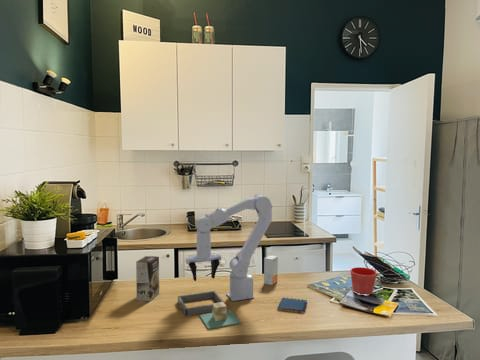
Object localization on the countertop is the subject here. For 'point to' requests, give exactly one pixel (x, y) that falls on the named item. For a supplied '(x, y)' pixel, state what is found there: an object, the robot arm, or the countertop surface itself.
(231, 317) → the teal board
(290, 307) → the dark blue flat block
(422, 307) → the countertop surface
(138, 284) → the coffee box
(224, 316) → the maple block
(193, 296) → the gray rectangular frame
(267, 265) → the skincare box
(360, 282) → the flower pot
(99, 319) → the countertop surface
